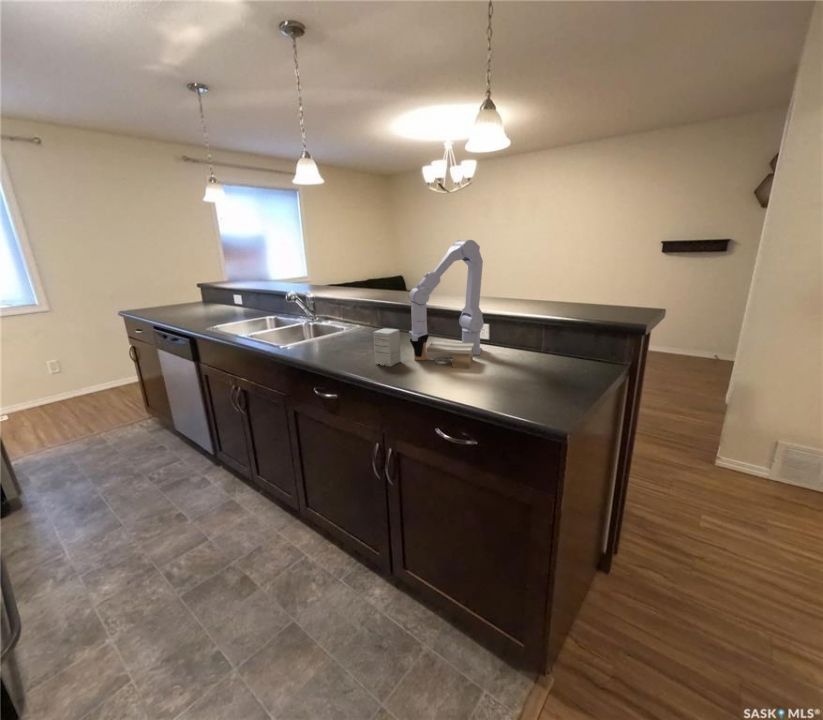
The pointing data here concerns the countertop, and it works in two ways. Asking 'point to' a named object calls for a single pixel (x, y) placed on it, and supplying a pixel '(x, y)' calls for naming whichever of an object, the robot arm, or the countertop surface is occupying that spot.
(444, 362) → the disc
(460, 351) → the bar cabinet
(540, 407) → the countertop surface
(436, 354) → the blade tool
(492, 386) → the countertop surface
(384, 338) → the grey drawer cabinet
